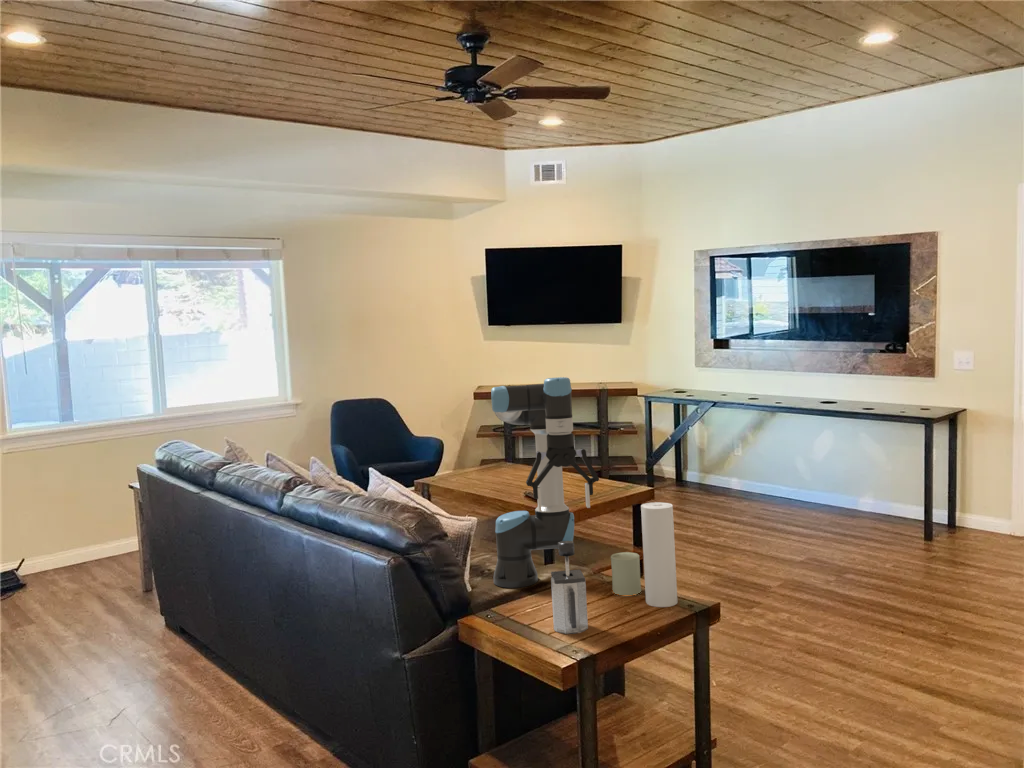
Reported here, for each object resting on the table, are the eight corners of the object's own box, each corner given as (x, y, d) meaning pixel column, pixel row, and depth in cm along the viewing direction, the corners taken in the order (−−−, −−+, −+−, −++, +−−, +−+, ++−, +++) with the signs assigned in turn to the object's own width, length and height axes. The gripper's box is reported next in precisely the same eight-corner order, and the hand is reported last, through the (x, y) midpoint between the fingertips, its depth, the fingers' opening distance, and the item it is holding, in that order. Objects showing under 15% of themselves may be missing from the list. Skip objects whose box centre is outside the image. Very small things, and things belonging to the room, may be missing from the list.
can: (612, 587, 248) (610, 550, 248) (641, 587, 247) (639, 550, 246) (612, 596, 239) (610, 558, 239) (642, 596, 238) (640, 558, 237)
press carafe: (551, 622, 219) (548, 571, 218) (584, 620, 220) (582, 568, 219) (557, 639, 207) (554, 584, 206) (592, 636, 207) (589, 581, 207)
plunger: (556, 610, 217) (552, 540, 217) (579, 608, 218) (575, 539, 217) (559, 618, 211) (555, 546, 210) (583, 616, 211) (579, 544, 210)
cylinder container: (677, 607, 226) (672, 506, 225) (645, 606, 228) (640, 507, 227) (677, 596, 235) (672, 500, 234) (646, 596, 237) (641, 500, 236)
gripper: (516, 437, 208) (520, 514, 209) (606, 431, 209) (610, 508, 211) (514, 434, 215) (518, 508, 216) (601, 428, 217) (605, 502, 218)
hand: (564, 508), depth 213 cm, fingers open, 13 cm apart
